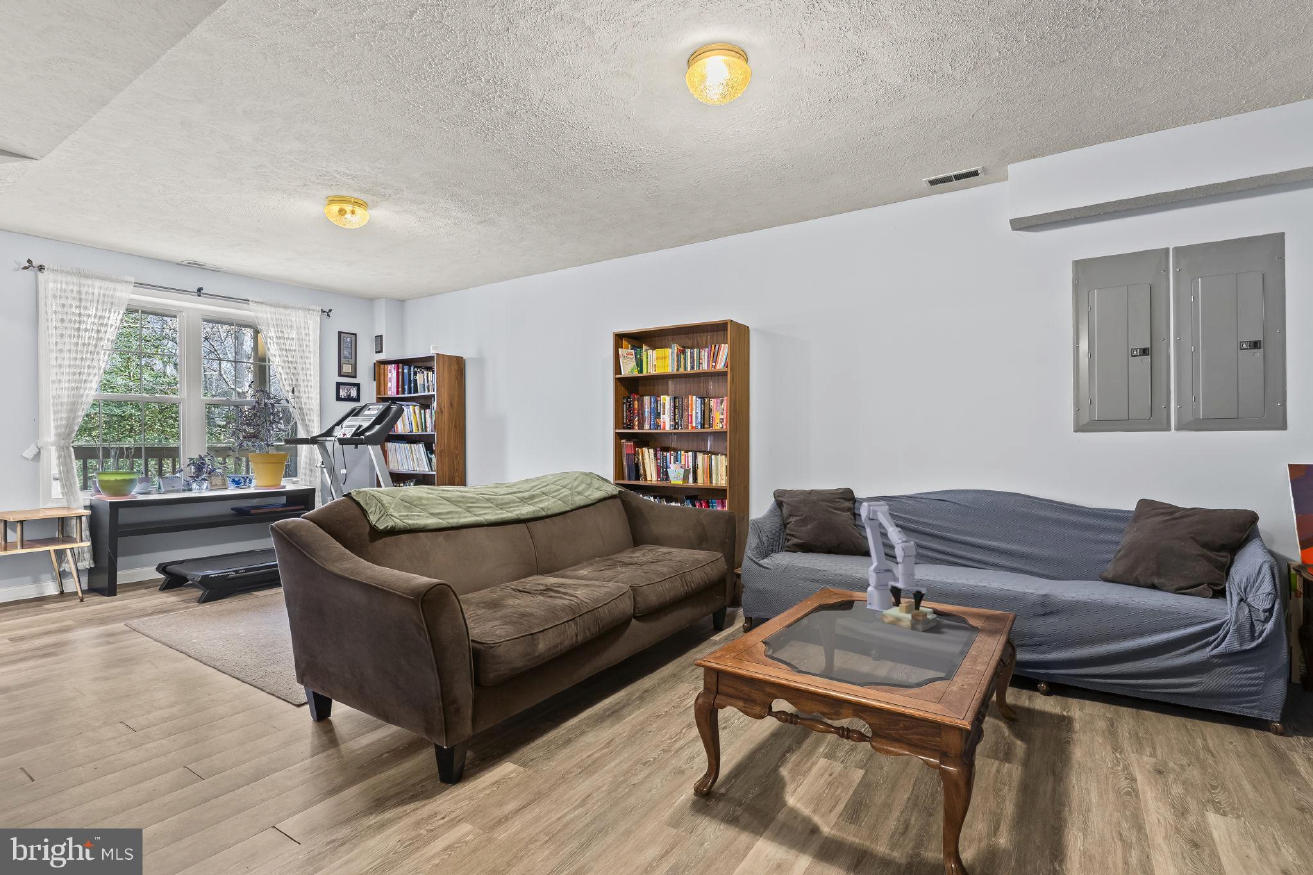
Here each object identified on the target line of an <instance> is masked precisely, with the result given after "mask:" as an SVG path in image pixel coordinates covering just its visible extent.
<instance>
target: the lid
mask: <svg viewBox="0 0 1313 875" xmlns="http://www.w3.org/2000/svg"><path fill="white" fill-rule="evenodd" d="M893 607H894V608H891V609H889V610H886V611H884V612H882V611H881V612H882V613H881V614H884V615H889V616H893V617H898V618H902V619H907V620H911V619H912V618H911V612H914V611H915V602H914V600H910V599H909V600H908V601H905V602H901V604H899V607H896V606H893ZM919 611H923V612H927V617H928V618H930V620H931V619H933V618H935V617H936V618H937V614H935V613H934V609H932V608H928V607H923V606H920V609H919ZM931 612H933V614H931Z"/></svg>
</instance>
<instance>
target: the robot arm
mask: <svg viewBox="0 0 1313 875" xmlns="http://www.w3.org/2000/svg"><path fill="white" fill-rule="evenodd" d="M859 511H860V517H861V521H862V523H863V524H864V526H865V531H866V536H867V540H868V545H869V551H870V555H871V560H872V565H871V566H870V567H869V568H868V570H867V571H868V582H869V586H868V587H867V590H866V600H867V601H866V603H867V606H866V608H867V609H870V610H874V611H878V612H882V611H883V612H884V611H886V610H889V609H891V608H894V607H899V604H902V601H901V600H902V598H901V596H902V591H903V590H906V591H911V592H913V593H912V596H913V601H914V602H915V611H916V610H918V611H919V609H920V607H921V604H922V602H923V599H924V597H925V596H926V593H928V592H927V591H928V590H927V587H925V586H922V585H919V584H916V576H915V575H916V574H915V573H916V571H915V570H916V569H915V568H916V567H915V566H916V565H915V557H917V555H918V547H917V544H916V543H915V541H913V540H911V539H908V537H907V535H905V533H904V531H903V530H902V529H901V528H900V527H897V526H896V524H895V522H894V521H893V519H892V517H891V515H890V507H889V505H888V504H887V502H886V501H875V502H872V501H871V502H866V501H865V502H862V504H861V506H860V509H859ZM880 523H881V524H882V526H883V527H884V528H885V529H886V530H887V537H888V539H889V540H890V541H891V543H892V545H893V546H894V553H895V555H896V561H897V562H898V580H897V575H896V573H895V571H894V567H893V566H892V565H890V564H889V563H888V562H887V559H886V555H885V552H884V551H885V550H884V546H883V541H882V537H881V532H880V527H879V524H880ZM893 601H894V603H895V606H894V605H893Z"/></svg>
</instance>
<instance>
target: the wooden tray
mask: <svg viewBox="0 0 1313 875" xmlns="http://www.w3.org/2000/svg"><path fill="white" fill-rule="evenodd" d="M881 614H882V613H881ZM931 614H934V611H933V612H931ZM937 620H938V619H937V616H936V617H935V618H933V619H931V620H930V618H928V617H927V619H925V620H922V621H921V620H916V619H911V620H907V619H902V618H898V617H893V616H889V615H884V614H882V623H886V624H891V625H894V626H899V627H902V628H903V627H904V628H907V629H910V630H911V631H917V632H921V633H922V632H925V631H927V630H929V629H931V628H933V627H935V626H937Z"/></svg>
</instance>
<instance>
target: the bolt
mask: <svg viewBox="0 0 1313 875" xmlns="http://www.w3.org/2000/svg"><path fill="white" fill-rule="evenodd" d="M911 618H912V619H916V620H921V621H922V620H925V619H927V612H923V611H918V610H916V611H914V612H911Z"/></svg>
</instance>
